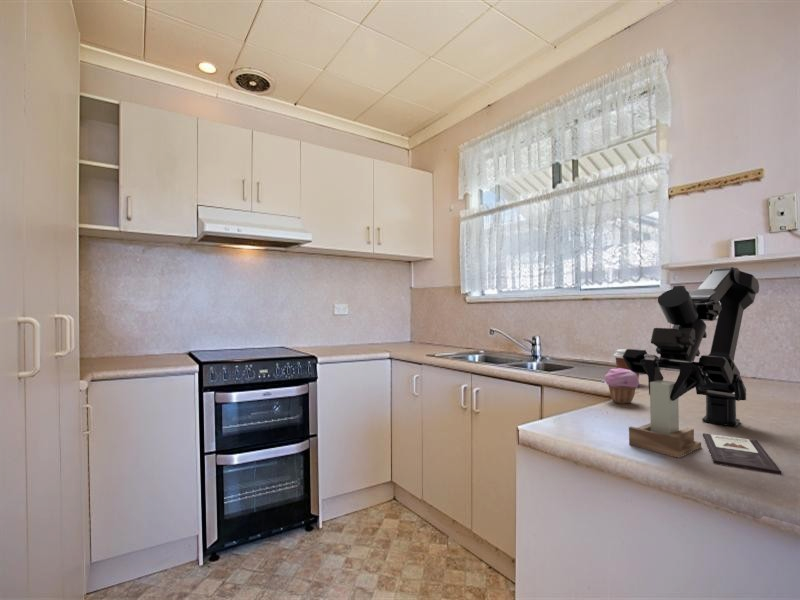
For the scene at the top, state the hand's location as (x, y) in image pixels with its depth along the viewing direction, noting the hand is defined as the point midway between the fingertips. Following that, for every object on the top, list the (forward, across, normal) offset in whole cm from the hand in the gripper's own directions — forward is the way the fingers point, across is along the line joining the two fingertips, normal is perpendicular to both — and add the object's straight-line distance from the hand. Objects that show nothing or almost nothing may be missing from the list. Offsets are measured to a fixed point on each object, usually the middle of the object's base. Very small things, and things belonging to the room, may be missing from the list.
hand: (661, 397), depth 81 cm
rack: (+6, 0, +8) cm, 10 cm away
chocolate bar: (+1, +9, +14) cm, 17 cm away
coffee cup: (-36, -37, +50) cm, 72 cm away
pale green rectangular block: (+4, 0, +6) cm, 7 cm away
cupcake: (-15, -24, +29) cm, 41 cm away
